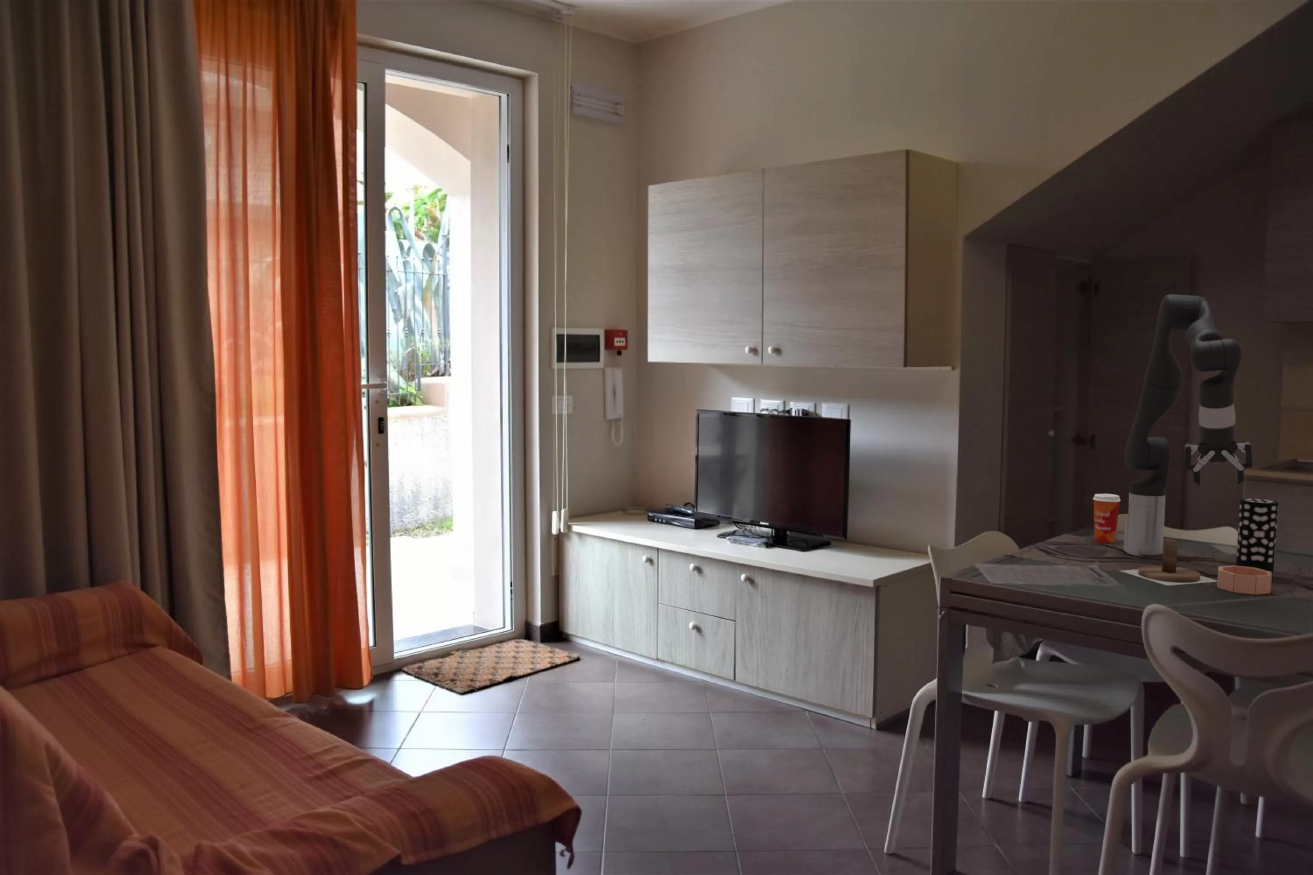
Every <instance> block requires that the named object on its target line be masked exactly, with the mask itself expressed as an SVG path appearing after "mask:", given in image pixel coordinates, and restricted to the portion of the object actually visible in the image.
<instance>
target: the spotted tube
mask: <svg viewBox="0 0 1313 875" xmlns="http://www.w3.org/2000/svg"><path fill="white" fill-rule="evenodd" d="M1278 512H1279V501H1277V500H1273V499H1269V498H1268V499H1266V498H1257V497H1254V498H1253V497H1244V498H1240V499H1239V514H1238V529H1237V542H1236V544H1237V545H1236V556H1235V557H1236V558H1235V559H1236V560H1235V566H1244V567H1254V568H1258V569H1262V570H1266V571H1270V572H1271V574H1272V580H1271V581H1274V572H1275V559H1276V558H1275V557H1276V544H1277V529H1278V514H1279V513H1278Z"/></svg>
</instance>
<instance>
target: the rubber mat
mask: <svg viewBox="0 0 1313 875" xmlns="http://www.w3.org/2000/svg"><path fill="white" fill-rule="evenodd" d="M1120 572H1121V573H1125V574H1128V575H1131V576H1135V577H1138V578H1142V579H1143V580H1144V579H1145V580H1147V581H1150V582H1154V583H1158V584H1160V585H1164V586H1167V587H1169V586H1179V585H1193V584H1206V583H1216V582H1217V581H1218V579H1217V580H1216V579H1214V578H1213V579H1212V578H1209V577H1206V576H1203V575H1200V580H1199V581H1196V582H1188V583H1179V582H1166V581H1159V580H1154V579H1149V578H1146V577H1143V576H1141V575H1139V574H1138V568H1136V569H1126V570H1120Z"/></svg>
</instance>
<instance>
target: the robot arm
mask: <svg viewBox="0 0 1313 875" xmlns="http://www.w3.org/2000/svg"><path fill="white" fill-rule="evenodd" d="M1158 309H1159V311H1158V314H1157V321H1156V328H1155V334H1154V340H1153V344H1152V349H1151V354H1150V358H1149V362H1148V366H1147V369H1146V372H1145V376H1144V380H1143V383H1142V388H1141V394H1140V397H1139V403H1138V406H1137V410H1136V414H1135V418H1134V421H1133V424H1132V426H1131V429H1130V432H1129V435H1128V438H1127V441H1126V443H1125V449H1124V462H1125V465H1126V467H1127V468H1129V469H1131V470H1136V471H1138V470H1139V471H1149V473H1148V474H1146V476H1144V477H1142V478H1139V479H1138V480H1135V481H1131V483H1129V488H1128V489H1129V490H1128V491H1129V492H1128V511H1127V517H1126V518H1125V519H1124V520H1125V521H1124V538H1123V551H1124V552H1125V553H1126V554H1129V555H1131V556H1137V557H1138V556H1139V557H1141V556H1159V555H1163V541H1164V529H1165V515H1166V514H1165V513H1166V512H1165V510H1166V494H1167V493H1166V491H1167V488H1168V484H1169V474H1170V467H1171V466H1170V464H1171V457H1172V455H1171V454H1172V452H1171V445H1170V442H1169V440H1168V439H1167V438H1166V437H1162V436H1161V437H1160V436H1156V437H1155V436H1149V435H1150V434H1151V431H1152V430H1153V428H1154V426H1155V425H1156V424H1157V423H1158V422H1159V421H1160V420H1161V419H1162V418H1163V417H1164V416H1165V415H1166V414H1167V413H1168V412H1170V410H1171V409H1172V408H1173V407H1174V406H1176V404H1177V402H1178V401H1179V400H1178V399H1179V396H1180V394H1181V391H1182V387H1183V382H1184V374H1183V370H1182V367H1181V366H1180V363H1179V360H1178V359H1177V357H1176V355H1175V353H1174V350H1173V348H1172V345H1171V332H1172V331H1181V332H1186V333H1185V340H1186V343H1187V345H1188V346H1189V348H1190V353H1189V361H1190V364H1191V367H1192V369H1194V370H1196V371H1197V372H1202V373H1204V372H1213V371H1220V372H1219V373H1217V375H1216V374H1215V375H1213V376H1211V377H1209V378H1206V379H1204V380H1201V382H1200V383H1199V385H1198V386H1199V387H1198V394H1199V395H1198V396H1199V398H1198V399H1199V408H1198V409H1199V410H1198V435H1199V436H1198V437H1199V440H1198V441H1199V442H1198V444H1190V443H1185V444H1184V458H1183V465H1184V470H1190V471H1192V479H1193V483H1194V484H1196V486H1201V471H1200V470H1201V468H1202V467H1204V466H1205V465H1206V464H1207V463H1208V462H1210V463H1217V462H1220V463H1226V462H1227V461H1229V463H1230V464H1232V465H1233V466H1234V467H1235V468H1236V470H1235V472H1236V476H1235V477H1236V479H1235V480H1236V485H1241V484H1242V483H1244V481H1245V479H1244V478H1245V476H1244V475H1245V474H1244V472H1245V470H1246V469H1248V468H1249V469H1251V468H1253V466H1254V465H1253V456H1252V446H1251V442H1249V440H1245V441H1244V442H1240V443H1239V442H1238V443H1237V442H1236V412H1235V411H1236V410H1235V404H1234V403H1235V402H1234V386H1235V380H1236V377H1237V375H1238V370H1239V368H1240V364H1241V361H1242V358H1243V350H1242V346H1241V344H1240V343H1239V342H1238V341H1237V340H1236V339H1234V338H1223V336H1222V334H1221V333H1220V331H1219V330H1218V329H1217V328H1216V326H1215V322H1214V318H1213V314H1212V311H1211V308H1210V304H1209V302H1208V301H1207V299H1206V298H1205V297H1203V296H1198V295H1187V294H1167V295H1165V296H1164V297H1163V299H1162V301H1161V303H1160V306H1159V308H1158ZM1238 449H1239V450H1241V453H1244V458H1245V459H1244V460H1245V461H1241V460H1240V459H1239V458H1238V457H1237V455H1235V453H1237V451H1238ZM1196 451H1198V452H1199V453H1200V455H1199V456H1198V457H1197V459H1196V460H1195V461H1194V462H1191V461H1192V460H1191V459H1192V455H1194V454H1195V453H1196Z"/></svg>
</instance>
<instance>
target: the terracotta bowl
mask: <svg viewBox="0 0 1313 875" xmlns="http://www.w3.org/2000/svg"><path fill="white" fill-rule="evenodd" d="M1217 568H1218V570H1217V584H1216V585H1217V586H1216V587H1217V588H1218V589H1221V590H1224V591H1228V592H1231V593H1237V594H1245V595H1246V594H1247V595H1255V596H1253V598H1256V599H1257V598H1267V597H1271V595H1266V594H1271V592H1272V581H1273V580H1272V574H1271V572H1270V571H1266V570H1262V569H1258V568H1254V567H1244V566H1236V565H1222V566H1221V565H1220V566H1217ZM1264 594H1265V595H1264Z"/></svg>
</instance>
